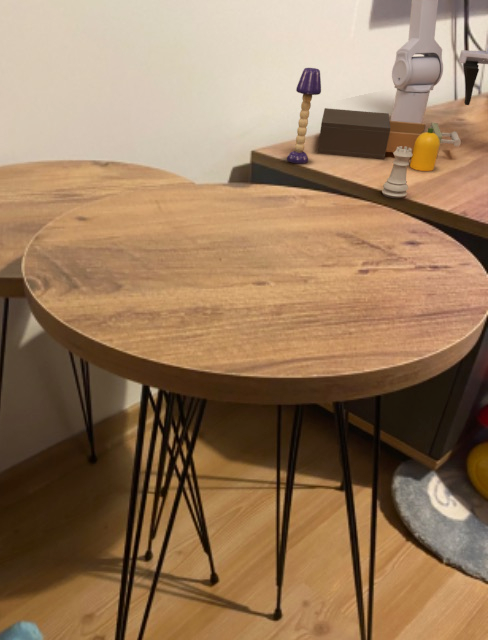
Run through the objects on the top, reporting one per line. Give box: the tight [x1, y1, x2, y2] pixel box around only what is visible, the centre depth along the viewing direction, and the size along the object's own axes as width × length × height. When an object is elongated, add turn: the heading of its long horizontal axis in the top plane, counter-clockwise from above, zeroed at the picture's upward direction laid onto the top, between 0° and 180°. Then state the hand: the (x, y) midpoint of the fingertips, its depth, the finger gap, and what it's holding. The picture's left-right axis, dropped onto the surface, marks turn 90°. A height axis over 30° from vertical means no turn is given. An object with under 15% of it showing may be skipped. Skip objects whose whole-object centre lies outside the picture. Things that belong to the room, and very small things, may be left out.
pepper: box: [409, 127, 441, 172], centre depth 128 cm, size 5×5×7 cm
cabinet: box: [316, 107, 391, 160], centre depth 138 cm, size 14×13×6 cm
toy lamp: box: [286, 67, 322, 165], centre depth 126 cm, size 5×5×17 cm
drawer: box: [386, 120, 462, 160], centre depth 136 cm, size 17×11×4 cm
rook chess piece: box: [381, 146, 413, 199], centre depth 114 cm, size 4×4×8 cm
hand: (486, 105), depth 129 cm, fingers open, 7 cm apart
